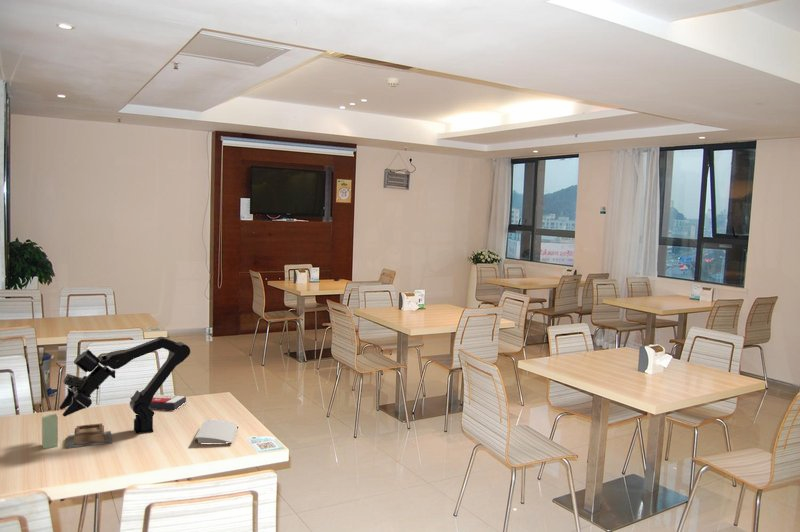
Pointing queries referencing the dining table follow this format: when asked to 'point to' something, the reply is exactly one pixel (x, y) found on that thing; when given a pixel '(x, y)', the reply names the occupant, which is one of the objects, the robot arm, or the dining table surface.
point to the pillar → (49, 431)
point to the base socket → (89, 436)
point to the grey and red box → (167, 402)
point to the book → (216, 431)
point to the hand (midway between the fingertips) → (61, 412)
